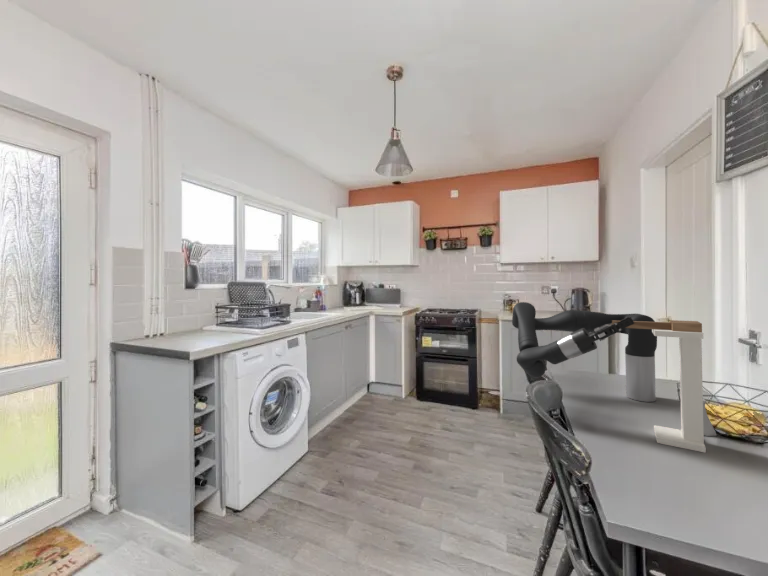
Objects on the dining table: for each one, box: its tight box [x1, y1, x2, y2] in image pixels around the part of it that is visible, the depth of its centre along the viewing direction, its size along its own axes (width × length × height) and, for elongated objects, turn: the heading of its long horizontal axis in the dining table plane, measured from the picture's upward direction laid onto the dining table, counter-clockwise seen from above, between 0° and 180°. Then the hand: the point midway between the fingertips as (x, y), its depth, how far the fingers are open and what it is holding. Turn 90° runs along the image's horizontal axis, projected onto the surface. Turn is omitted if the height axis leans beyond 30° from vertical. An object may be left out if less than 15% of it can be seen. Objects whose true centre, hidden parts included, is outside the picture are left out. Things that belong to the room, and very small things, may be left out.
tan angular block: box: [612, 319, 703, 333], centre depth 97 cm, size 7×20×2 cm, turn 54°
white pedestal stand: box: [652, 329, 707, 454], centre depth 94 cm, size 10×10×32 cm
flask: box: [703, 398, 717, 437], centre depth 99 cm, size 7×7×10 cm
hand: (632, 319), depth 100 cm, fingers closed on tan angular block, 2 cm apart
